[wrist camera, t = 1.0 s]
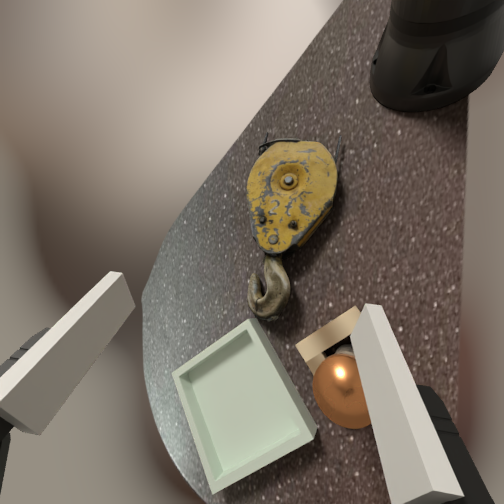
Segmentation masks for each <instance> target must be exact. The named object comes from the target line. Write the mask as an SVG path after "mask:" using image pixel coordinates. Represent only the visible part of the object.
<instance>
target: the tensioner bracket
mask: <svg viewBox="0 0 504 504" xmlns="http://www.w3.org/2000/svg"><path fill="white" fill-rule="evenodd" d="M360 314H361V312H360V311H359V310H358V309H357V307H356V306H354V307H353V308H351V309H350V310H348V311H346V312H345V313H343V314H342V315H340V316H339V317H337V318H336V319H334V320H333V321H331V322H330V323H328V324H327V325H325V326H323V327H322V328H320V329H319V330H317V331H316V332H314V333H313V334H311V335H310V336H308V337H307V338H305V339H303V340H302V341H300V342H299V343H297V344H296V345H295V346H296V347H297V349H298V350H299V352H300V354H301V355H302V357H303V359H304V360H305V362H306V364H307V365H308V367H309V369H310V370H311V372H312V373H313V375H314V374H315V372H316V370H317V368H318V367H319V365H320V364H321V362H322V361H323V360H324V359H325V358H327V356H326V354H325V353H324V350H326V349H328V348H329V347H331V346H332V345H334V344H336V343H337V342H339V341H340V340H342V339H344V338H345V337H347V336H348V335H350V334H351V333H352V331H353V329H354V327H355V325H356V323H357V320H358V318H359V316H360ZM413 380H414V379H413Z"/></svg>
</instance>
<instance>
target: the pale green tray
mask: <svg viewBox="0 0 504 504" xmlns="http://www.w3.org/2000/svg"><path fill="white" fill-rule="evenodd" d="M172 376H173V378H174V381H175V384H176V387H177V390H178V393H179V396H180V399H181V402H182V405H183V408H184V411H185V414H186V417H187V420H188V423H189V426H190V429H191V432H192V435H193V438H194V441H195V444H196V447H197V450H198V453H199V456H200V459H201V462H202V465H203V468H204V471H205V474H206V477H207V480H208V483H209V486H210V489H211V492H212V495H213V494H214V493H216V492H218V491H220V490H222V489H224V488H225V487H227V486H229V485H231V484H233V483H235V482H236V481H238V480H240V479H242V478H244V477H245V476H247V475H249V474H251V473H253V472H255V471H256V470H258V469H260V468H262V467H264V466H266V465H267V464H269V463H271V462H273V461H275V460H277V459H278V458H280V457H282V456H284V455H286V454H287V453H289V452H291V451H293V450H295V449H297V448H298V447H300V446H302V445H304V444H306V443H308V442H309V441H311V440H313V439H314V437H315V434H316V431H317V428H318V427H317V425H316V423H315V422H314V420H313V418H312V416H311V414H310V413H309V411H308V409H307V407H306V406H305V404H304V402H303V400H302V398H301V397H300V395H299V393H298V391H297V389H296V388H295V386H294V384H293V382H292V381H291V379H290V377H289V375H288V373H287V372H286V370H285V368H284V366H283V364H282V363H281V361H280V359H279V357H278V356H277V354H276V352H275V350H274V348H273V347H272V345H271V343H270V341H269V339H268V338H267V336H266V334H265V332H264V331H263V329H262V327H261V325H260V323H259V322H258V320H257V318H253V319H247V320H246V321H244V322H243V323H242V324H240V325H239V326H237V327H236V328H235V329H233V330H232V331H230V332H229V333H228V334H226V335H225V336H223V337H222V338H220V339H219V340H218V341H216V342H215V343H213V344H212V345H211V346H209V347H208V348H206V349H205V350H204V351H202V352H201V353H199V354H198V355H197V356H195V357H194V358H192V359H191V360H189V361H188V362H187V363H185V364H184V365H182V366H181V367H180V368H178V369H177V370H175V371H174V372H173V373H172Z"/></svg>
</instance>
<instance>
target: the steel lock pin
mask: <svg viewBox="0 0 504 504" xmlns="http://www.w3.org/2000/svg"><path fill="white" fill-rule="evenodd" d="M313 393H314V396H315V399H316V402H317V404H318V406H319V407H320V409H321V410H322V412H323V413H324V414H325V415H326V416H327V417H328V418H329V419H330V420H331V421H333V422H334V423H336V424H338V425H340V426H342V427H345V428H350V429H359V428H363V427H366V426H368V425H369V424H371V419H370V415H369V411H368V407H367V403H366V399H365V395H364V391H363V387H362V383H361V379H360V375H359V371H358V367H357V363H356V359H355V355H354V351H353V347H352V345H350V344H343V345H341V346H339V347H338V348H337V350H336V352H335V354H333V355H330V356H329V357H327V358H325V359H324V360H323V361H322V362H321V364H320V365H319V367H318V368H317V370H316V372H315V374H314V378H313Z"/></svg>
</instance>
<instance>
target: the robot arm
mask: <svg viewBox="0 0 504 504" xmlns="http://www.w3.org/2000/svg"><path fill="white" fill-rule="evenodd" d="M503 51H504V0H392V2H391V10H390V17H389V20H388V22H387V25H386V27H385V30H384V32H383V35H382V37H381V40H380V42H379V45H378V48H377V50H376V52H375V55H374V57H373V60H372V64H371V70H370V89H371V92H372V94H373V95H374V97H375V98H376V99H377V100H378V101H379V102H380V103H381V104H383V105H385V106H387V107H389V108H392V109H395V110H399V111H409V112H416V111H426V110H432V109H436V108H440V107H443V106H446V105H449V104H451V103H454V102H456V101H458V100H460V99H462V98H464V97H465V96H467V95H469V94H470V93H471V92H473V91H474V90H476V89H477V88H478V87H479V86H480V85H481V84H482V83H483V82H485V80H486V79H487V78H488V77H489V76H490V74H491V73H492V71H493V70H494V68H495V66H496V64H497V62H498V61H499V59H500V57H501V55H502V53H503ZM134 308H135V304H134V301H133V299H132V296H131V294H130V291H129V288H128V286H127V283H126V280H125V278H124V275H123V273H118V272H109V273H108V274H107V275H106V276H105V277H104V278H103V279H102V280H101V281H100V282H99V283H98V284H97V285H96V286H95V287H94V288H93V289H92V290H90V291H89V292H88V293H87V294H86V295H85V296H84V297H83V298H82V299H81V300H80V301H79V302H78V303H77V304H76V305H75V306H74V307H73V308H72V309H71V310H70V311H69V312H68V313H67V314H66V315H64V316H63V317H62V318H61V319H60V320H59V321H58V322H57V323H56V324H55V325H54V326H53V327H52V328H45V329H43V330H42V331H40V332H39V333H37V334H35V335H34V336H32V337H31V338H30V339H29V340H28V341H27V342H26V343H25V344H24V345H22V346H21V347H20V349H19V350H17V351H16V352H15V353H14V354H13V355H12V356H11V357H10V359H7V360H6V361H5V362H4V363H3V364H2V365H1V366H0V493H1V488H2V482H3V477H4V472H5V466H6V461H7V455H8V450H9V444H10V440H11V439H10V433H9V432H10V430H11V429H12V428H13V427H16V428H17V429H19V430H20V431H22V432H25V433H30V434H35V435H41V433H42V432H43V431H44V429H45V428H46V427H47V425H48V424H49V423H50V421H51V420H52V419H53V417H54V416H55V415H56V413H57V412H58V411H59V409H60V408H61V407H62V405H63V404H64V403H65V401H66V400H67V398H68V397H69V396H70V394H71V393H72V392H73V390H74V389H75V388H76V386H77V385H78V384H79V382H80V381H81V379H82V378H83V377H84V375H85V374H86V373H87V371H88V370H89V369H90V367H91V366H92V365H93V363H94V362H95V361H96V359H97V358H98V357H99V355H100V354H101V352H102V351H103V350H104V349H105V347H106V346H107V344H108V343H109V342H110V340H111V339H112V338H113V336H114V335H115V334H116V332H117V331H118V330H119V328H120V327H121V326H122V324H123V323H124V321H125V320H126V319H127V317H128V316H129V315H130V313H131V312H132V311H133V309H134ZM350 339H351V343H352V347H353V351H354V355H355V359H356V363H357V367H358V371H359V375H360V379H361V383H362V387H363V391H364V395H365V399H366V403H367V407H368V411H369V415H370V419H371V423H372V427H373V431H374V435H375V439H376V443H377V447H378V451H379V456H380V460H381V464H382V468H383V472H384V476H385V480H386V484H387V488H388V492H389V496H390V500H391V504H495V503H494V501H493V500H492V498H491V496H490V494H489V492H488V490H487V489H486V486H485V484H484V482H483V481H482V479H481V476H480V475H479V472H478V470H477V468H476V467H475V465H474V462H473V460H472V459H471V457H470V455H469V452H468V451H467V449H466V447H465V445H464V443H463V441H462V439H461V437H459V433H458V431H457V429H456V427H455V425H454V423H453V422H452V419H451V417H450V415H449V413H448V411H447V409H446V407H445V405H444V403H443V401H442V400H441V399H440V398H439V396H438V395H437V394H436V393H435V392H434V390H433V389H432V388H431V387H429V386H423V385H416V384H415V382H414V380H413V377H412V375H411V373H410V370H409V368H408V366H407V364H406V361H405V359H404V357H403V354H402V352H401V350H400V347H399V345H398V343H397V341H396V338H395V336H394V334H393V331H392V329H391V327H390V324H389V322H388V320H387V318H386V315H385V313H384V311H383V308H382V306H381V305H373V304H365V305H364V308H363V310H362V312H361V314H360V316H359V318H358V320H357V323H356V325H355V327H354V329H353V331H352V333H351V336H350Z"/></svg>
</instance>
